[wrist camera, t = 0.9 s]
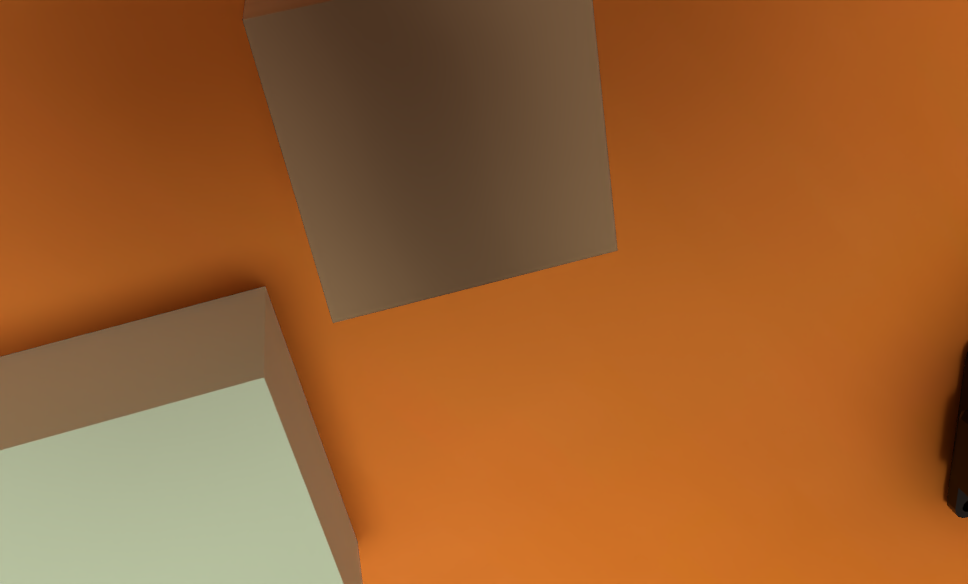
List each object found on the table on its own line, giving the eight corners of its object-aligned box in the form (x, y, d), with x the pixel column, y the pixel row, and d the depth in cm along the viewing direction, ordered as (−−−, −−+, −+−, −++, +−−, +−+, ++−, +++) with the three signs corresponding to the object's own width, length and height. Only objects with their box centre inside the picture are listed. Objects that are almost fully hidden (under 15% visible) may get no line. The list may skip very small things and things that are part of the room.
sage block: (265, 280, 19) (264, 377, 16) (356, 534, 23) (371, 656, 20) (-101, 377, 19) (-185, 501, 15) (57, 623, 23) (19, 765, 19)
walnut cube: (505, -84, 17) (586, -54, 12) (539, 157, 19) (617, 250, 15) (249, -30, 16) (242, 20, 12) (318, 210, 19) (332, 322, 14)
